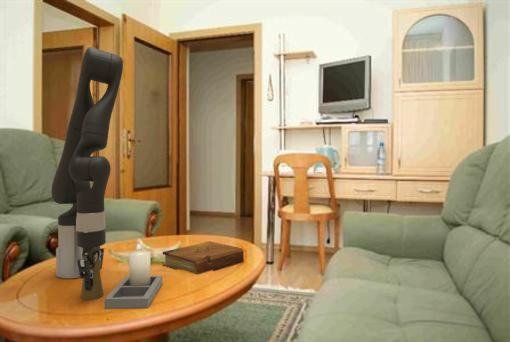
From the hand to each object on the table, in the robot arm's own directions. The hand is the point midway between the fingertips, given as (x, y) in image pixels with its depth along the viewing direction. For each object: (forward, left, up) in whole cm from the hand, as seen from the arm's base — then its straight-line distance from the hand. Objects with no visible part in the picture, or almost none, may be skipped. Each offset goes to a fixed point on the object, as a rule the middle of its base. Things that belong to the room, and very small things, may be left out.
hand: (92, 288), depth 110 cm
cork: (0, 0, -3) cm, 3 cm away
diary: (+28, +34, -3) cm, 44 cm away
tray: (+12, +1, -3) cm, 12 cm away
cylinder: (+12, +5, -2) cm, 13 cm away
